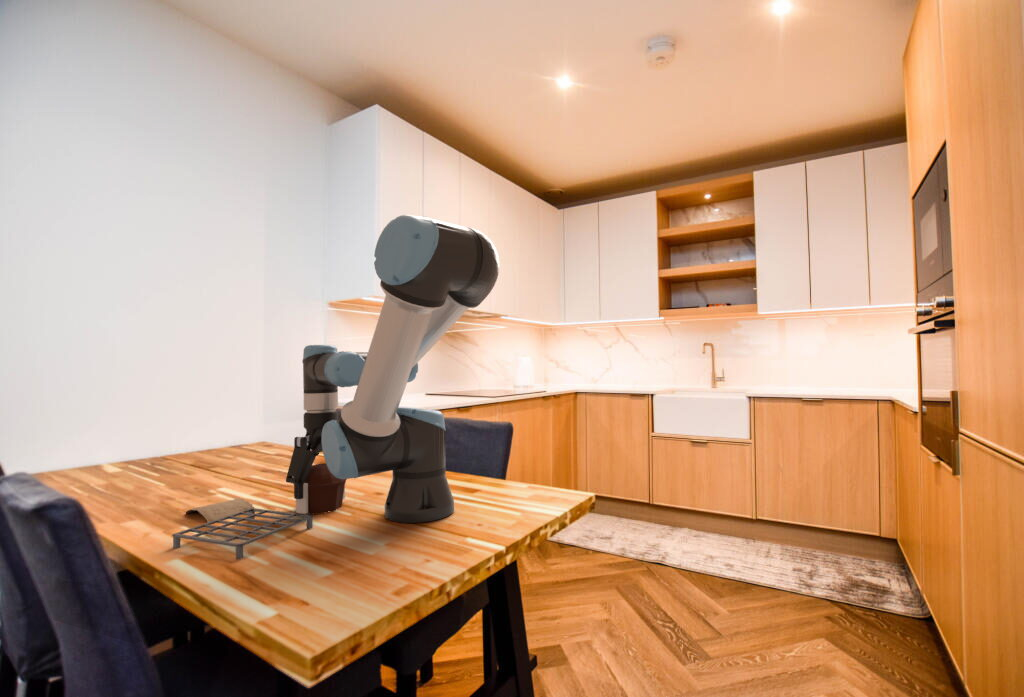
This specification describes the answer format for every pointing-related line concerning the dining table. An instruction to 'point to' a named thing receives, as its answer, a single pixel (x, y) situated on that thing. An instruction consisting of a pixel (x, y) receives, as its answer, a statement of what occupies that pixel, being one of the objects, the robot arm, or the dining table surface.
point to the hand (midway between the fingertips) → (321, 505)
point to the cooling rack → (250, 518)
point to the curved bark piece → (223, 509)
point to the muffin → (324, 490)
